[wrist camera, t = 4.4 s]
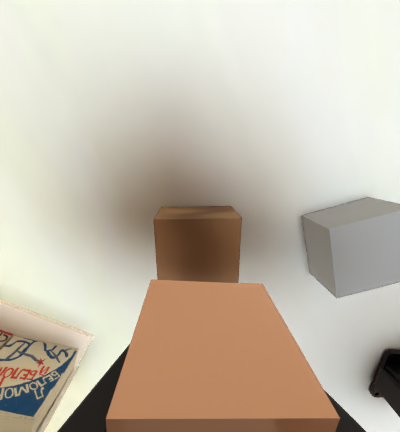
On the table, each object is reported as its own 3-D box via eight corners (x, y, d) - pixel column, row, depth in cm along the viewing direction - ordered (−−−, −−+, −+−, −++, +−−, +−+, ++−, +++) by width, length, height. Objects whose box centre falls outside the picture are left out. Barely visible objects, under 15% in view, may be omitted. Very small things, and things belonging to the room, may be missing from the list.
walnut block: (230, 205, 18) (241, 218, 14) (228, 267, 19) (237, 293, 16) (161, 206, 18) (153, 219, 14) (165, 268, 19) (158, 296, 15)
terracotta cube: (262, 284, 8) (340, 418, 4) (247, 368, 10) (295, 541, 5) (151, 279, 8) (106, 419, 4) (150, 367, 9) (114, 549, 5)
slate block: (366, 196, 18) (413, 206, 14) (369, 255, 20) (412, 278, 16) (300, 214, 18) (329, 229, 15) (308, 271, 20) (336, 298, 16)
